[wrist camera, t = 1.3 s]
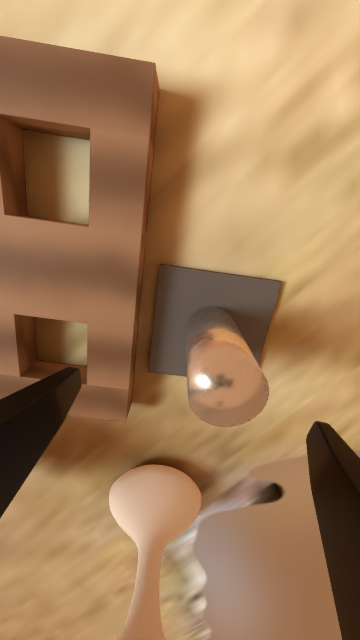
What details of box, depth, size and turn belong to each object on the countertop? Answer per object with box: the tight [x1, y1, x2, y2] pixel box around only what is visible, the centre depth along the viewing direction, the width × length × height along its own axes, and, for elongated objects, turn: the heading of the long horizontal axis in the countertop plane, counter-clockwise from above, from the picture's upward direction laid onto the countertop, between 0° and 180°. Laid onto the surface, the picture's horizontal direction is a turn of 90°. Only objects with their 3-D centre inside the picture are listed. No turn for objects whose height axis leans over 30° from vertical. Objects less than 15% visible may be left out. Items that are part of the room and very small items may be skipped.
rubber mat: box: [148, 264, 282, 377], centre depth 25 cm, size 11×11×1 cm
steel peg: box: [186, 306, 269, 427], centre depth 20 cm, size 5×5×10 cm
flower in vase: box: [109, 465, 202, 640], centre depth 21 cm, size 13×11×25 cm
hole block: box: [0, 36, 159, 422], centre depth 21 cm, size 28×14×3 cm, turn 172°
